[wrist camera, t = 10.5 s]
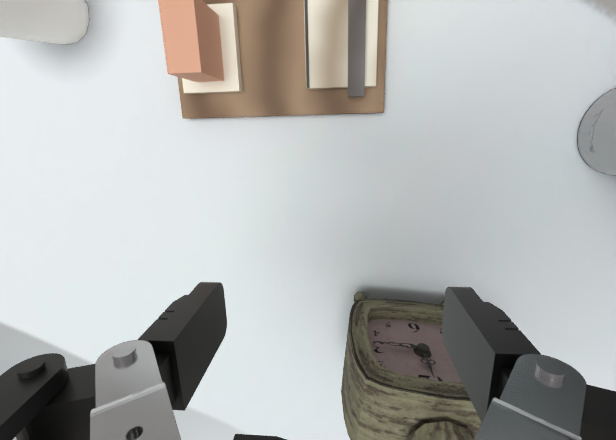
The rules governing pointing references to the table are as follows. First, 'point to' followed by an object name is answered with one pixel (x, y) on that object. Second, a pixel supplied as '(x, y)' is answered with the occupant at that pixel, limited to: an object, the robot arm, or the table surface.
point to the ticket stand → (302, 60)
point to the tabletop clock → (402, 375)
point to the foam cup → (44, 20)
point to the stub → (202, 45)
